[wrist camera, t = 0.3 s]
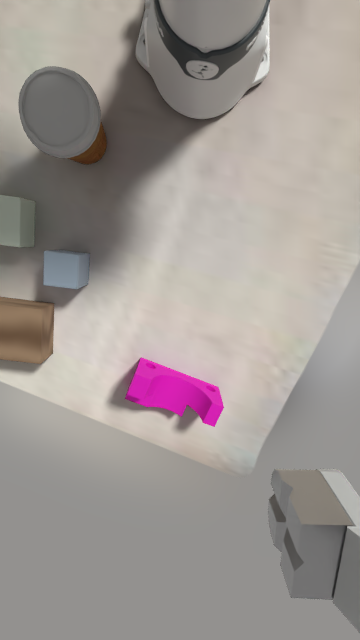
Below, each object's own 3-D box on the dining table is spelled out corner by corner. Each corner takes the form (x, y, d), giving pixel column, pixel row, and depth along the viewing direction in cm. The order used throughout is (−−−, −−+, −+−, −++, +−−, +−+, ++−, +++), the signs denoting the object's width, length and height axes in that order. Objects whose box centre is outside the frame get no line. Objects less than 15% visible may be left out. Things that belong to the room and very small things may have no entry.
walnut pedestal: (-18, 294, 54) (-38, 300, 49) (54, 303, 54) (42, 309, 49) (-17, 345, 56) (-35, 355, 51) (52, 353, 56) (40, 363, 51)
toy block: (128, 386, 58) (121, 407, 51) (141, 356, 57) (135, 374, 49) (204, 415, 59) (208, 439, 52) (218, 386, 58) (223, 407, 51)
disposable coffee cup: (57, 175, 49) (19, 155, 38) (51, 106, 47) (9, 61, 35) (119, 175, 49) (100, 155, 38) (115, 105, 47) (95, 61, 35)
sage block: (-10, 195, 50) (-30, 190, 45) (35, 201, 50) (20, 197, 45) (-9, 241, 52) (-29, 241, 47) (34, 246, 52) (19, 247, 47)
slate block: (59, 249, 52) (44, 250, 46) (89, 253, 52) (78, 255, 46) (58, 280, 53) (43, 285, 47) (88, 283, 53) (77, 289, 47)
